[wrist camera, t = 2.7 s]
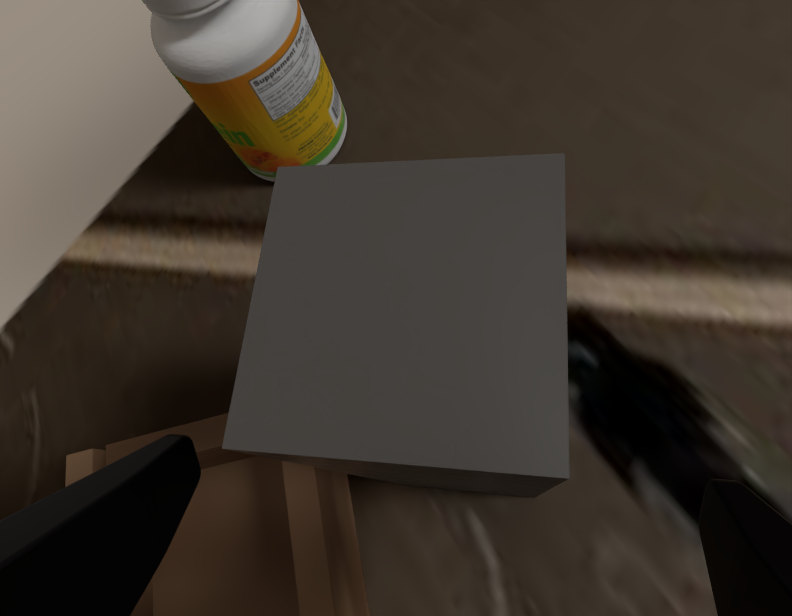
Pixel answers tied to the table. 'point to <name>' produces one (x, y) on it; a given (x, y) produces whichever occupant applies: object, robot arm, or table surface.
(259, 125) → the supplement bottle
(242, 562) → the wooden square frame
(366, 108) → the table surface
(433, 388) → the steel square block
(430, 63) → the table surface
